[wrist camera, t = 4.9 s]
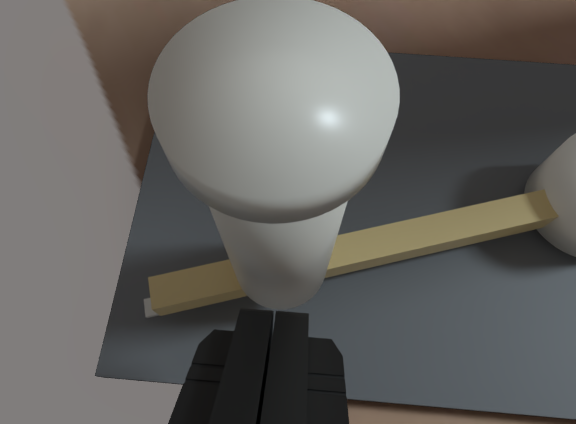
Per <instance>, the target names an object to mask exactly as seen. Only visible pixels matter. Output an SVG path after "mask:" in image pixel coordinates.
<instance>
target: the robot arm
mask: <svg viewBox="0 0 576 424" xmlns="http://www.w3.org/2000/svg"><path fill="white" fill-rule="evenodd" d="M273 319H274V311H272V310H260V309H248V308H241V309H240V311H239V315H238V319H237V322H236V326H235V329H234V331H228V330H216V329H214V330H213V331H212V332H211V333H210V334H209V335H208V336H207V337H206V338H204V339H203V340H202V341H201V342H200V343H199V344H198V347H197V350H196V352H195V355H194V357H193V360H192V363H191V366H190V368H189V370H188V373H187V376H186V378H185V383H184V384H183V386H182V389H181V392H180V394H179V397H178V399H177V402H176V405H175V407H174V410H173V412H172V415H171V418H170V420H169V423H168V424H349V418H348V407H347V396H346V385H345V374H344V363H343V355H342V354H341V352H340V351H339V349H338V348H337V346H336V345H335V343H334V342H333V340H332V339H327V338H314V337H308V330H309V313H299V312H286V311H276V315H275V322H274V329H273Z"/></svg>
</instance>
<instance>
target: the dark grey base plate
mask: <svg viewBox="0 0 576 424" xmlns="http://www.w3.org/2000/svg"><path fill="white" fill-rule="evenodd" d="M388 54H389V56H390V58H391V60H392V62H393V65H394V68H395V71H396V73H397V77H398V83H399V89H400V103H399V109H398V115H397V119H396V122H395V125H394V128H393V130H392V133H391V136H390V138H389V141H388V143H387V146H386V149H385V151H384V154H383V156H382V159H381V161H380V163H379V165H378V167H377V169H376V171H375V173H374V174H373V175H372V177H371V178H370V180H369V181H368V182H367V184H366V185H365V186H364V187H363V188H362V189H361V190H360V191H359V192H358V193H357V194H356V195H354V196H353V197H352V198H351V199H349V200H348V202H347V205H346V208H345V212H344V215H343V218H342V222H341V225H340V228H339V232H338V235H341V234H346V233H350V232H355V231H359V230H364V229H368V228H373V227H377V226H382V225H386V224H391V223H395V222H400V221H404V220H409V219H413V218H418V217H422V216H427V215H431V214H436V213H440V212H445V211H449V210H454V209H458V208H463V207H467V206H472V205H476V204H481V203H485V202H490V201H494V200H499V199H503V198H508V197H512V196H517V195H521V194H524V191H525V186H526V183H527V180H528V178H529V177H530V175H531V174H532V172H533V171H534V170H535V169H536V168H537V167H538V166H540V165H541V164H542V163H543V162H544V161H545V160H546V159H547V158H548V157H549V156H550V155H551V154H552V153H553V152H554V151H555V150H556V149H557V148H559V147H560V146H561V145H562V144H563V143H564V142H565V141H566V140H567V139H568V138H569V137H571V136H572V135H574V134H575V133H576V65H569V64H554V63H539V62H524V61H508V60H493V59H478V58H463V57H448V56H432V55H417V54H402V53H388ZM228 259H229V257H228V254H227V252H226V249H225V247H224V244H223V241H222V239H221V236H220V234H219V231H218V229H217V226H216V223H215V221H214V218H213V216H212V213H211V211H210V208H209V206H208V205H206V204H205V203H203V202H202V201H200V200H199V199H198V198H196V197H195V196H194V195H193V194H192V193H191V192H190V191H189V190H188V189H187V188H186V187H185V186H184V185H183V183H182V182H181V181H180V180H179V179H178V177H177V175H176V174H175V172H174V170H173V169H172V167H171V165H170V163H169V161H168V159H167V157H166V155H165V153H164V150H163V148H162V146H161V144H160V142H159V140H158V138H157V136H156V134H155V132H154V136H153V140H152V144H151V148H150V152H149V156H148V160H147V164H146V168H145V173H144V177H143V181H142V185H141V189H140V193H139V197H138V201H137V205H136V210H135V214H134V218H133V222H132V226H131V230H130V234H129V239H128V242H127V247H126V251H125V255H124V259H123V263H122V267H121V271H120V275H119V280H118V283H117V287H116V291H115V296H114V300H113V304H112V308H111V312H110V316H109V320H108V325H107V328H106V332H105V337H104V341H103V345H102V349H101V353H100V357H99V362H98V365H97V369H96V373H95V376H98V377H104V378H115V379H128V380H138V381H149V382H161V383H172V384H182V385H183V384H184V383H185V378H186V376H187V373H188V370H189V368H190V366H191V363H192V360H193V357H194V355H195V352H196V350H197V347H198V344H199V343H200V342H201V341H202V340H203V339H204V338H206V337H207V336H208V335H209V334H210V333H211V332H212V331H213V330H214V329H216V330H228V331H234V329H235V326H236V322H237V319H238V315H239V311H240V309H241V308H248V309H260V310H272V311H274V319H273V329H274V322H275V315H276V311H286V312H299V313H309V330H308V337H314V338H327V339H332V340H333V342H334V343H335V345H336V346H337V348H338V349H339V351H340V352H341V354H342V355H343V363H344V374H345V385H346V396H347V399H350V400H361V401H372V402H383V403H394V404H406V405H417V406H428V407H439V408H450V409H461V410H472V411H484V412H495V413H506V414H517V415H528V416H539V417H551V418H562V419H573V420H576V257H575V256H572V255H569V254H567V253H565V252H563V251H561V250H559V249H558V248H556V247H555V246H553V245H552V244H551V243H549V242H548V241H547V240H546V239H545V238H544V237H543V236H542V235H541V234H540V233H539V232H538V231H537V229H535V230H531V231H526V232H522V233H518V234H513V235H509V236H505V237H501V238H496V239H492V240H488V241H483V242H479V243H475V244H470V245H466V246H462V247H457V248H453V249H449V250H444V251H440V252H436V253H431V254H427V255H423V256H418V257H414V258H410V259H405V260H401V261H397V262H392V263H388V264H384V265H379V266H375V267H371V268H366V269H362V270H358V271H353V272H349V273H345V274H340V275H336V276H332V277H327V278H324V281H323V283H322V285H321V287H320V289H319V290H318V292H317V293H316V294H315V295H314V296H313V297H312V298H311V299H310V300H308V301H307V302H305V303H304V304H302V305H300V306H298V307H294V308H291V309H283V310H278V309H271V308H267V307H264V306H261V305H259V304H257V303H256V302H254V301H253V300H252V299H250V298H249V297H248V296H245V297H241V298H237V299H232V300H228V301H224V302H219V303H215V304H211V305H206V306H202V307H198V308H193V309H189V310H185V311H180V312H176V313H172V314H167V315H163V316H160V315H158V314H157V313H156V312H154V311H153V310H152V308H151V299H150V290H149V281H148V277H152V276H156V275H161V274H165V273H170V272H174V271H179V270H183V269H188V268H192V267H197V266H201V265H206V264H210V263H215V262H219V261H224V260H228Z"/></svg>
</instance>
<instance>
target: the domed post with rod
mask: <svg viewBox="0 0 576 424" xmlns="http://www.w3.org/2000/svg"><path fill="white" fill-rule="evenodd" d="M147 97H148V111H149V115H150V120H151V123H152V126H153V129H154V131H155V134H156V136H157V138H158V140H159V142H160V144H161V146H162V148H163V150H164V153H165V155H166V157H167V159H168V161H169V163H170V165H171V167H172V169H173V170H174V172H175V174H176V175H177V177H178V179H179V180H180V181H181V182H182V183H183V185H184V186H185V187H186V188H187V189H188V190H189V191H190V192H191V193H192V194H193V195H194V196H195V197H196V198H198V199H199V200H200V201H202V202H203V203H205V204H206V205H208V206H209V208H210V211H211V213H212V216H213V218H214V221H215V223H216V226H217V229H218V231H219V234H220V236H221V239H222V241H223V244H224V247H225V249H226V252H227V254H228V257H229V259H228V260H224V261H219V262H215V263H210V264H206V265H201V266H197V267H192V268H188V269H183V270H179V271H174V272H170V273H165V274H161V275H156V276H152V277H148V281H149V290H150V299H151V308H152V310H153V311H154V312H156V313H157V314H158V315H160V316H163V315H167V314H172V313H176V312H180V311H185V310H189V309H193V308H198V307H202V306H206V305H211V304H215V303H219V302H224V301H228V300H232V299H237V298H241V297H245V296H248V297H249V298H250V299H252V300H253V301H254V302H256V303H257V304H259V305H261V306H264V307H267V308H271V309H278V310H283V309H291V308H294V307H298V306H300V305H302V304H304V303H305V302H307V301H308V300H310V299H311V298H312V297H313V296H314V295H315V294H316V293H317V292H318V290H319V289H320V287H321V285H322V283H323V281H324V278H327V277H332V276H336V275H340V274H345V273H349V272H353V271H358V270H362V269H366V268H371V267H375V266H379V265H384V264H388V263H392V262H397V261H401V260H405V259H410V258H414V257H418V256H423V255H427V254H431V253H436V252H440V251H444V250H449V249H453V248H457V247H462V246H466V245H470V244H475V243H479V242H483V241H488V240H492V239H496V238H501V237H505V236H509V235H513V234H518V233H522V232H526V231H531V230H535V229H537V231H538V232H539V233H540V234H541V235H542V236H543V237H544V238H545V239H546V240H547V241H548V242H549V243H551V244H552V245H553V246H555V247H556V248H558V249H559V250H561V251H563V252H565V253H567V254H569V255H572V256H575V257H576V133H575V134H574V135H572V136H571V137H569V138H568V139H567V140H566V141H565V142H564V143H563V144H562V145H561V146H560V147H559V148H557V149H556V150H555V151H554V152H553V153H552V154H551V155H550V156H549V157H548V158H547V159H546V160H545V161H544V162H543V163H542V164H541V165H540V166H538V167H537V168H536V169H535V170H534V171H533V172H532V174H531V175H530V177H529V178H528V180H527V183H526V186H525V191H524V194H521V195H517V196H512V197H508V198H503V199H499V200H494V201H490V202H485V203H481V204H476V205H472V206H467V207H463V208H458V209H454V210H449V211H445V212H440V213H436V214H431V215H427V216H422V217H418V218H413V219H409V220H404V221H400V222H395V223H391V224H386V225H382V226H377V227H373V228H368V229H364V230H359V231H355V232H350V233H346V234H341V235H338V232H339V228H340V225H341V222H342V218H343V215H344V212H345V208H346V205H347V202H348V200H349V199H351V198H352V197H353V196H354V195H356V194H357V193H358V192H359V191H360V190H361V189H362V188H363V187H364V186H365V185H366V184H367V182H368V181H369V180H370V178H371V177H372V175H373V174H374V173H375V171H376V169H377V167H378V165H379V163H380V161H381V159H382V156H383V154H384V151H385V149H386V146H387V143H388V141H389V138H390V136H391V133H392V130H393V128H394V125H395V122H396V119H397V115H398V109H399V103H400V89H399V83H398V77H397V73H396V71H395V68H394V65H393V62H392V60H391V58H390V56H389V54H388V53H387V51H386V49H385V48H384V47H383V45H382V44H381V42H380V41H379V40H378V39H377V38H376V37H375V36H374V35H373V33H372V32H371V31H370V30H368V29H367V28H366V27H365V26H364V25H362V24H361V23H360V22H359V21H357V20H356V19H354V18H353V17H351V16H350V15H348V14H346V13H344V12H342V11H340V10H338V9H336V8H334V7H331V6H329V5H326V4H323V3H320V2H317V1H313V0H236V1H233V2H230V3H226V4H223V5H220V6H218V7H216V8H214V9H211V10H209V11H207V12H205V13H203V14H202V15H200V16H198V17H196V18H195V19H193V20H192V21H191V22H189V23H188V24H187V25H185V26H184V27H183V28H182V29H181V30H179V31H178V32H177V33H176V34H175V35H174V36H173V37H172V39H171V40H170V41H169V42H168V43H167V44H166V46H165V47H164V49H163V50H162V52H161V53H160V55H159V57H158V58H157V61H156V63H155V65H154V67H153V70H152V73H151V77H150V80H149V86H148V95H147Z"/></svg>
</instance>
